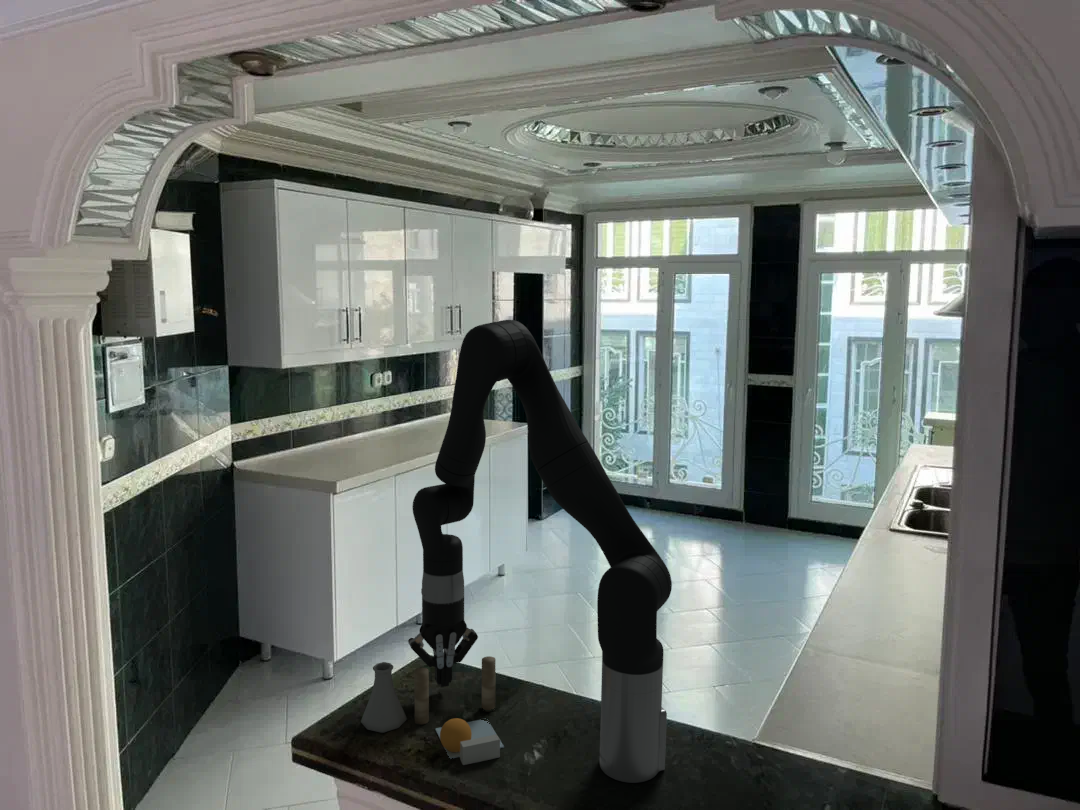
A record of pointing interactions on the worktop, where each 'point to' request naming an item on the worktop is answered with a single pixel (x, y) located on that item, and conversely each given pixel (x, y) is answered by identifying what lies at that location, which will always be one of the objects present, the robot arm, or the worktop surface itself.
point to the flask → (383, 702)
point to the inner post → (488, 683)
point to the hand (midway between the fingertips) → (443, 684)
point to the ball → (454, 734)
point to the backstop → (479, 749)
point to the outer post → (421, 695)
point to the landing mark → (474, 734)
